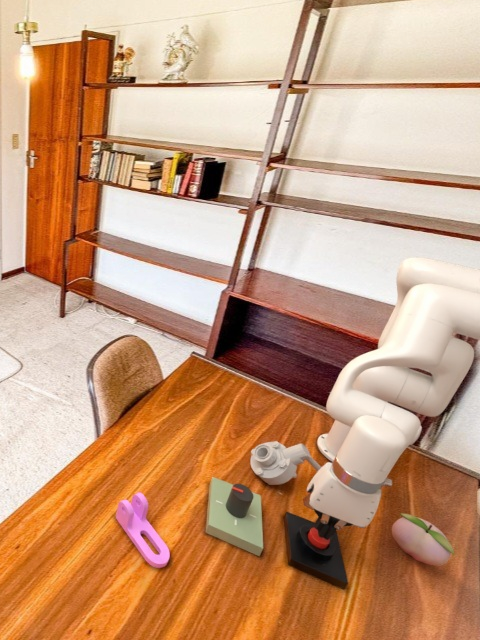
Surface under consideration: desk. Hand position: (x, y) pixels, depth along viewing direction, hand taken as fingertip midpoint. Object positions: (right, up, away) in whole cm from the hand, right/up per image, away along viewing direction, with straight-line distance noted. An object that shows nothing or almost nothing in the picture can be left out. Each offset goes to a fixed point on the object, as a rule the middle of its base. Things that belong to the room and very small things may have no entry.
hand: (322, 532), depth 85 cm
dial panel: (-14, -2, +9) cm, 17 cm away
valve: (+7, +1, +19) cm, 20 cm away
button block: (0, -6, +3) cm, 7 cm away
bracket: (-37, -4, +4) cm, 38 cm away
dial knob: (-14, 0, +8) cm, 16 cm away
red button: (0, -3, +1) cm, 3 cm away
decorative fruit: (+22, -7, +3) cm, 24 cm away
